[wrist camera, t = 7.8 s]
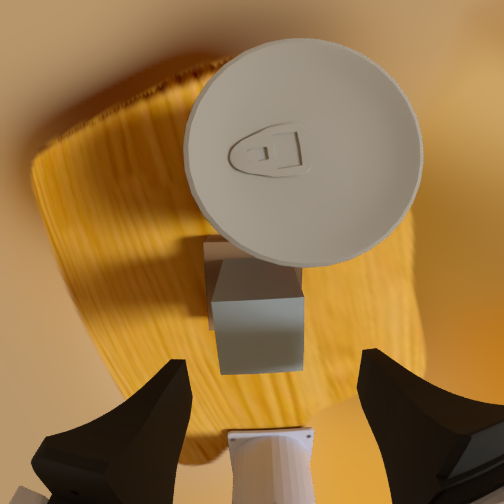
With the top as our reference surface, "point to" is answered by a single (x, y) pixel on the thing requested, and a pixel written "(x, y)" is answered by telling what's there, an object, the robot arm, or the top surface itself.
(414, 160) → the canned food
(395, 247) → the top surface
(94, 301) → the top surface
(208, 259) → the walnut block
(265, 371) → the grey block
